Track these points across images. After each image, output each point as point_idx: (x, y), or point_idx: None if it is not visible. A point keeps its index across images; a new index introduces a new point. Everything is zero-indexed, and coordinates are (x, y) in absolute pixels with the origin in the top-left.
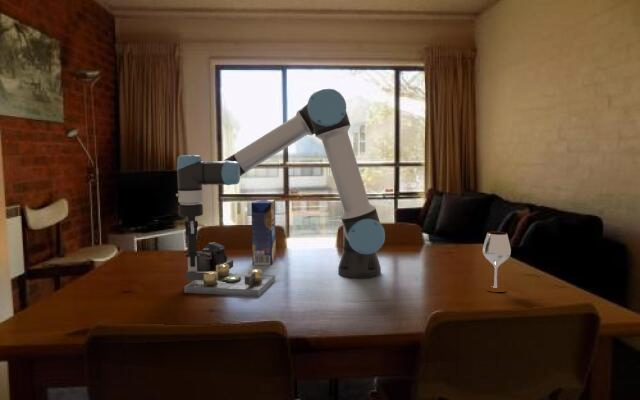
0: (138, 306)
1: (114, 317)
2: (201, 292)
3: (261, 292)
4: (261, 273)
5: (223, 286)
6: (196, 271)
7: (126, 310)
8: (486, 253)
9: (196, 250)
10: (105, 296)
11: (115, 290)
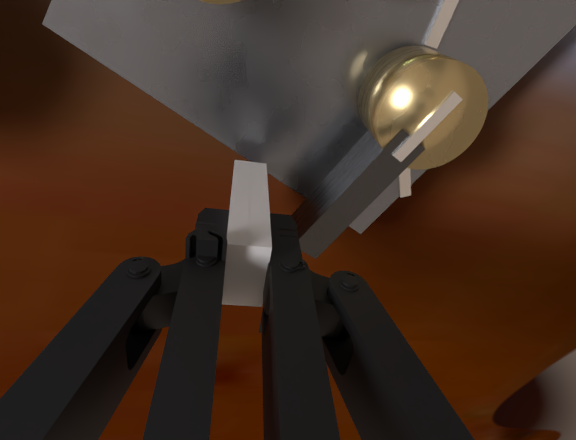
0: (420, 352)
1: (473, 393)
2: None
3: None
4: None
5: (519, 31)
6: (335, 200)
7: (435, 375)
8: None
9: (387, 316)
10: (252, 414)
11: None
